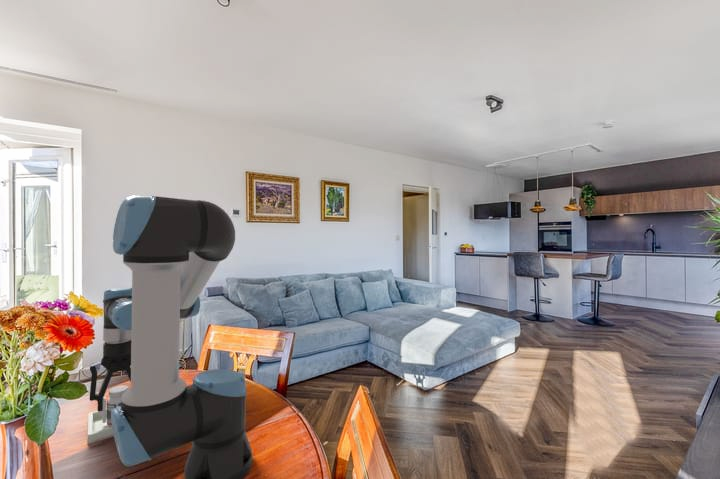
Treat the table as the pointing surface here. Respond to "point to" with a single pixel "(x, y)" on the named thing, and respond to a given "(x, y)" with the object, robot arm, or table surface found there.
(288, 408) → the table surface
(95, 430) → the tray
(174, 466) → the table surface
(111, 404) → the pill bottle
